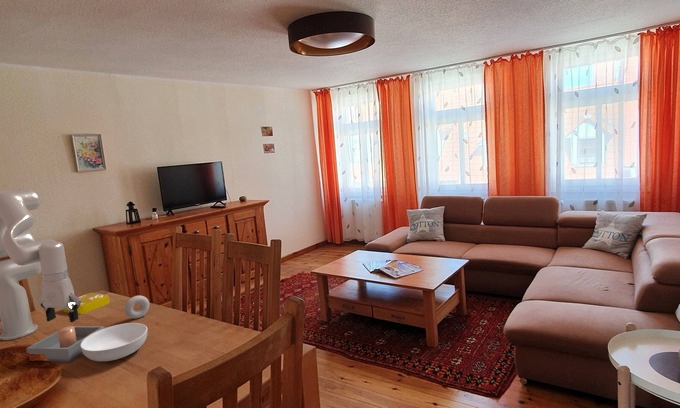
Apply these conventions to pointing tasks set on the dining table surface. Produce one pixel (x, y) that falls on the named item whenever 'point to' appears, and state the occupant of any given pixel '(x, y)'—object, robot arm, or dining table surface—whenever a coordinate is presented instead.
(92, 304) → the element tile
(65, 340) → the pinkish-brown rounded piece
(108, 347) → the serving bowl
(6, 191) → the robot arm
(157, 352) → the dining table surface
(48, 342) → the bin
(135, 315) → the donut
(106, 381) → the dining table surface
